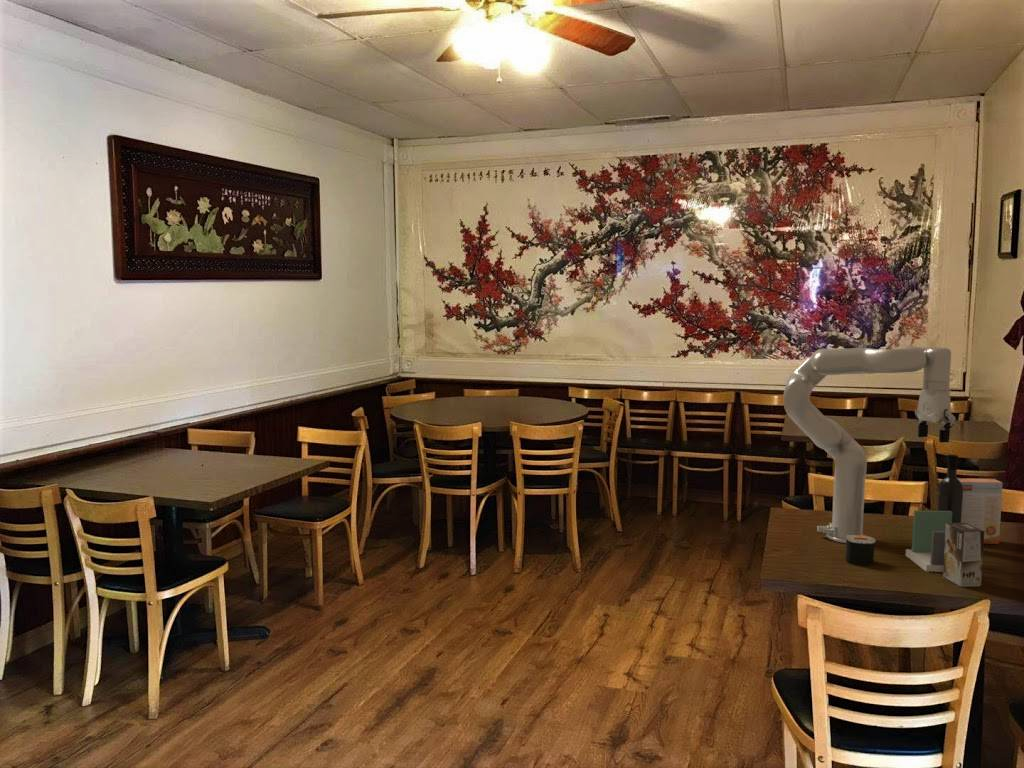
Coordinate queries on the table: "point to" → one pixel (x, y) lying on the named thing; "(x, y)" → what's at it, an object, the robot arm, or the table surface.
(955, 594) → the table surface
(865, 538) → the sushi
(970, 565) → the coffee box
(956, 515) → the wine bottle
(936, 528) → the shelf
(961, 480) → the cracker box
